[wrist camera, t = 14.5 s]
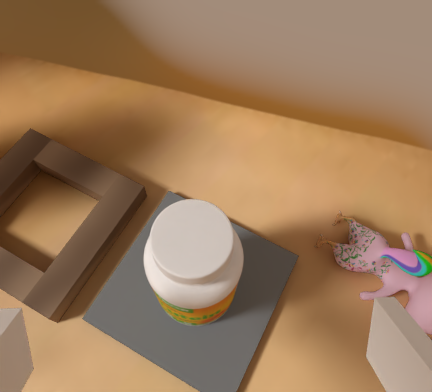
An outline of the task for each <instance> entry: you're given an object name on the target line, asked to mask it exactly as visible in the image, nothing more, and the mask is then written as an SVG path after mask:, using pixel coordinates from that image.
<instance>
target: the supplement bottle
mask: <svg viewBox="0 0 432 392" xmlns="http://www.w3.org/2000/svg"><path fill="white" fill-rule="evenodd" d="M243 260H244V255H243V248H242V244H241V241H240V239H239V237H238V235H237V233H236V232H235V230H234V229H233V227H232V225H231V222H230V221H229V219H228V217H227V216H226V214H225V213H224V212H223V211H222V210H221V209H219V208H218V207H217V206H215V205H214V204H212V203H209V202H207V201H203V200H198V199H186V200H181V201H178V202H175V203H173V204H171V205H170V206H168V207H166V208H165V209H164V210H163V211H162V212H161V213H160V214H159V215H158V216H157V218H156V219H155V221H154V223H153V225H152V228H151V232H150V236H149V238H148V240H147V243H146V246H145V249H144V269H145V273H146V276H147V279H148V281H149V283H150V285H151V287H152V289H153V291H154V293H155V294H156V296H157V298H158V300H159V302H160V304H161V306H162V308H163V309H164V310H165V312H166V313H167V314H168V315H169V316H170V317H171V318H173V319H174V320H176V321H177V322H179V323H182V324H185V325H190V326H202V325H206V324H209V323H212V322H214V321H216V320H217V319H219V318H220V317H221V316H222V315H223V314H224V313H225V312H226V311H227V309H228V308H229V306H230V305H231V303H232V300H233V298H234V295H235V291H236V288H237V285H238V282H239V279H240V276H241V273H242V268H243Z"/></svg>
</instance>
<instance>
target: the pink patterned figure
mask: <svg viewBox="0 0 432 392" xmlns="http://www.w3.org/2000/svg"><path fill="white" fill-rule="evenodd" d="M339 213H340V214H338V215H337V218H336V220H335V224H333V226H334V225H336V224H338V223H340V221H341V220H346V221H347V222H348V223H349V227H350V229H349V234H348V241H349V244H340V243H335V242H332V241H329V240H326V239H324V238H323V235H322V234H321V237H319V240H318V242H317V247H316V246H314V247H316V248H318V247H319V246H321V245H322V244H323V243H328V244H330V245H331V246H332V248H333V252H334V256H335V260H336V262H337V263H338V264H339V265H340V266H341V267H343V268H344V269H347V270H350V271H354V272H363V273H371V274H374V275H376V276H377V277H378V278H379V279H380V280H381V281H382V282H383V284H384V285H383V287H382V288H381V289H379V290H377V291H375V292H367V291H364V292H361V293H360V298H361V299H362V300H374V298H375V297H388V296H390V295H393V294H395V293H396V292H398V291H400V290H406V291H407V292H408V296H409V301H408V303H407V305H406V307H405V310H406V311H407V312H408V313H409V314H410V315H411V317H412V318H413V319H414V320H415V321H416V322H417V324H418V325H419V326H420V327H421V328H422V329H423V331H424V332H425V333H427V334H431V335H432V257H431V256H430V255H428V254H426V253H424V252H421V251H418V250H414V249H413V245H412V242H411V238H410V236H409V234H408V233H403V234H402V235H401V238H402V241H403V243H404V245H405V250H404V249H399V248H390V247H389V244H388V242H387V240H386V239H385V238H384V237H383V236H382V235H381V234H380V233H379V232H377V231H375V230H372V229H369V228H367V227H365V226H363V225H362V224H360V223H358V222H357V221H356V220H355V219H354V218H350V217H345V216H342V214H341V212H340V211H339ZM425 275H426V276H425ZM417 276H424V277H417Z"/></svg>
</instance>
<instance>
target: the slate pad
mask: <svg viewBox="0 0 432 392" xmlns="http://www.w3.org/2000/svg"><path fill="white" fill-rule="evenodd" d="M181 200H186V199H185V198H183V197H181V196H179V195H177V194H175V193H173V192H171V191H168V193H167V194H166V196H165V197H164V199H163V200H162V202H161V203H160V205H159V206H158V208H157V209H156V211H155V212H154V214H153V215H152V217H151V218H150V219H149V221H148V222H147V224H146V225H145V227H144V228H143V230H142V231H141V233H140V234H139V236H138V237H137V239H136V240H135V242H134V243H133V245H132V246H131V248H130V249H129V250H128V252H127V253H126V255H125V256H124V258H123V259H122V261H121V262H120V264H119V265H118V267H117V268H116V270H115V271H114V273H113V274H112V276H111V277H110V278H109V280H108V281H107V283H106V284H105V286H104V287H103V289H102V290H101V292H100V293H99V295H98V296H97V298H96V299H95V301H94V302H93V304H92V305H91V307H90V308H89V309H88V311H87V312H86V314H85V315H84V317H83V318H82V319H83V320H85V321H86V322H88V323H90V324H91V325H93V326H94V327H96V328H98V329H99V330H101V331H103V332H104V333H106V334H107V335H109V336H111V337H112V338H114V339H116V340H117V341H119V342H120V343H122V344H124V345H125V346H127V347H129V348H130V349H132V350H133V351H135V352H137V353H138V354H140V355H142V356H143V357H145V358H146V359H148V360H150V361H151V362H153V363H155V364H156V365H158V366H159V367H161V368H163V369H164V370H166V371H168V372H169V373H171V374H172V375H174V376H176V377H177V378H179V379H181V380H182V381H184V382H185V383H187V384H189V385H190V386H192V387H194V388H195V389H197V390H198V391H200V392H236V391H237V389H238V387H239V385H240V383H241V381H242V378H243V376H244V374H245V372H246V370H247V367H248V365H249V363H250V361H251V359H252V357H253V354H254V352H255V350H256V348H257V346H258V343H259V341H260V339H261V337H262V335H263V333H264V330H265V328H266V326H267V324H268V322H269V319H270V317H271V315H272V313H273V311H274V309H275V306H276V304H277V302H278V300H279V298H280V295H281V293H282V291H283V289H284V287H285V285H286V282H287V280H288V278H289V276H290V274H291V272H292V269H293V267H294V265H295V263H296V261H297V258H298V255H296V254H294V253H292V252H290V251H288V250H286V249H284V248H282V247H280V246H278V245H276V244H274V243H272V242H270V241H268V240H266V239H264V238H262V237H260V236H258V235H256V234H254V233H252V232H250V231H248V230H246V229H244V228H242V227H240V226H238V225H236V224H234V223H232V222H231V225H232V227H233V229H234V230H235V232H236V233H237V235H238V237H239V239H240V241H241V244H242V248H243V255H244V260H243V268H242V273H241V276H240V279H239V282H238V285H237V288H236V291H235V295H234V298H233V300H232V303H231V305H230V306H229V308H228V309H227V311H226V312H225V313H224V314H223V315H222V316H221V317H220V318H219V319H217V320H216V321H214V322H212V323H209V324H206V325H202V326H190V325H185V324H182V323H179V322H177V321H176V320H174V319H173V318H171V317H170V316H169V315H168V314H167V313H166V312H165V310H164V309H163V308H162V306H161V304H160V302H159V300H158V298H157V296H156V294H155V293H154V291H153V289H152V287H151V285H150V283H149V281H148V279H147V276H146V273H145V269H144V249H145V246H146V243H147V240H148V238H149V236H150V232H151V228H152V225H153V223H154V221H155V219H156V218H157V216H158V215H159V214H160V213H161V212H162V211H163V210H164V209H165V208H166V207H168V206H170V205H171V204H173V203H175V202H178V201H181Z"/></svg>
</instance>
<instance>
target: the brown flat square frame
mask: <svg viewBox="0 0 432 392" xmlns="http://www.w3.org/2000/svg"><path fill="white" fill-rule="evenodd" d="M41 170H42V171H44V172H46V173H48V174H50V175H52V176H53V177H55V178H57V179H59V180H61V181H63V182H65V183H67V184H68V185H70V186H72V187H74V188H76V189H78V190H80V191H82V192H83V193H85V194H87V195H89V196H91V197H93V198H95V199H97V200H98V201H99V202H98V203H97V205H96V206H95V207H94V209H93V210H92V211H91V212H90V214H89V215H88V216H87V218H86V219H85V220H84V222H83V223H82V224H81V226H80V227H79V228H78V229H77V231H76V232H75V233H74V235H73V236H72V237H71V239H70V240H69V241H68V243H67V244H66V245H65V247H64V248H63V249H62V250H61V252H60V253H59V254H58V256H57V257H56V258H55V260H54V261H53V262H52V264H51V265H50V266H49V267H48V269H47V270H46V271H45V273H44V272H42V271H40V270H39V269H37V268H35V267H34V266H32V265H30V264H29V263H27V262H25V261H24V260H22V259H20V258H19V257H17V256H15V255H14V254H12V253H10V252H9V251H7V250H5V249H4V248H2V247H0V289H2V290H3V291H5V292H7V293H8V294H10V295H11V296H13V297H15V298H16V299H18V300H19V301H21V302H22V303H24V304H26V305H27V306H29V307H30V308H32V309H34V310H35V311H37V312H38V313H40V314H42V315H43V316H45V317H46V318H48V319H50V320H52V321H55V322H57V323H58V322H59V320H60V319H61V317H62V316H63V314H64V313H65V312H66V310H67V309H68V307H69V306H70V304H71V303H72V302H73V300H74V299H75V297H76V296H77V295H78V293H79V292H80V290H81V289H82V287H83V286H84V285H85V283H86V282H87V280H88V279H89V277H90V276H91V275H92V273H93V272H94V270H95V269H96V268H97V266H98V265H99V263H100V262H101V260H102V259H103V258H104V256H105V255H106V253H107V252H108V250H109V249H110V248H111V246H112V245H113V243H114V242H115V241H116V239H117V238H118V236H119V235H120V233H121V232H122V231H123V229H124V228H125V226H126V225H127V223H128V222H129V221H130V219H131V218H132V216H133V215H134V213H135V212H136V211H137V209H138V208H139V206H140V205H141V204H142V202H143V201H144V199H145V198H146V196H147V194H146V191H145V188H144V186H142V185H140V184H139V183H137V182H135V181H133V180H131V179H129V178H127V177H125V176H123V175H121V174H119V173H117V172H115V171H113V170H111V169H109V168H107V167H105V166H103V165H101V164H99V163H97V162H95V161H93V160H91V159H89V158H87V157H86V156H84V155H82V154H80V153H78V152H76V151H74V150H72V149H70V148H68V147H66V146H64V145H62V144H60V143H58V142H56V141H54V140H52V139H50V138H48V137H46V136H44V135H42V134H40V133H38V132H36V131H34V130H33V129H31V128H30V129H29V130H28V131H27V132H26V133H25V134H24V135H23V137H22V138H21V139H20V140H19V141H18V142H17V143H16V144H15V145H14V146H13V147H12V148H11V149H10V150H9V151H8V152H7V153H6V154H5V155H4V157H3V158H2V159H1V160H0V217H1V216H2V214H3V213H4V212H5V211H6V210H7V209H8V208H9V206H10V205H11V204H12V203H13V202H14V201H15V200H16V198H17V197H18V196H19V195H20V194H21V193H22V192H23V190H24V189H25V188H26V187H27V186H28V185H29V184H30V182H31V181H32V180H33V179H34V178H35V177H36V176H37V175H38V173H39V172H40V171H41Z"/></svg>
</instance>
